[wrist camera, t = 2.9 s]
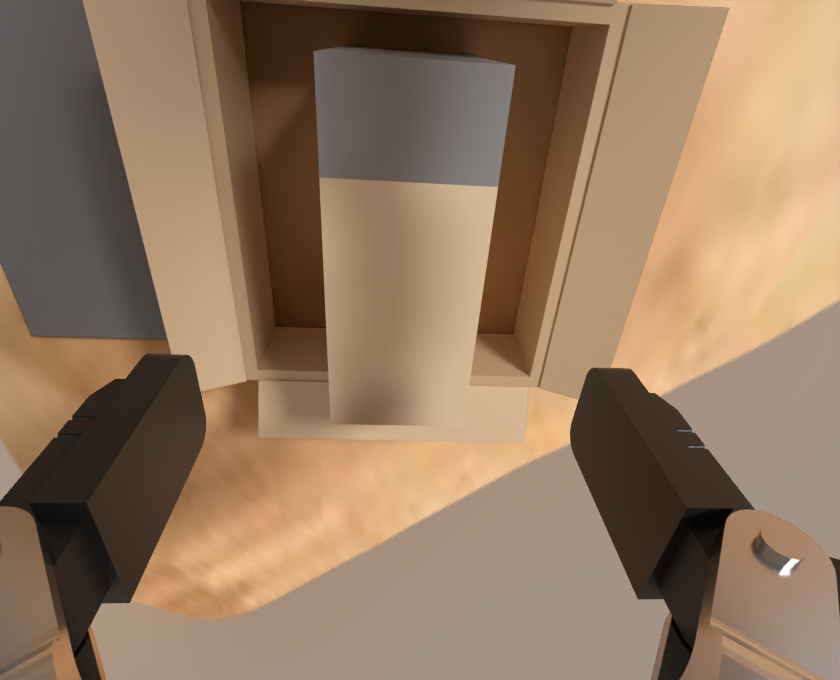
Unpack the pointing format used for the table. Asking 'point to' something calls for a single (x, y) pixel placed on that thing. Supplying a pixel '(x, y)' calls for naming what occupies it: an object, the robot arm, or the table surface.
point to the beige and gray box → (406, 225)
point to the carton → (244, 222)
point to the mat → (66, 184)
